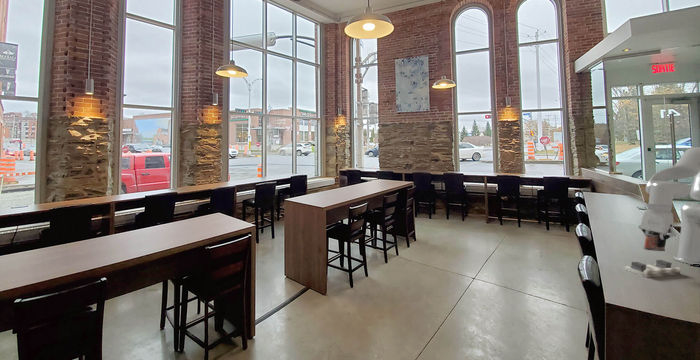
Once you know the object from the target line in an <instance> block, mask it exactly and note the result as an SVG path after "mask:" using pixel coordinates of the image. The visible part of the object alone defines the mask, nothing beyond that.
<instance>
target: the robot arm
mask: <svg viewBox="0 0 700 360" xmlns="http://www.w3.org/2000/svg"><path fill="white" fill-rule="evenodd" d="M692 177H693V180H692V184H691V187H690V186H689V185H688V184H686V183H685V182H680V181H675V180H682V179H683V180H684V179H687V178H692ZM645 192H646V193H647V194H649V198H648V203H646V204H645V207H647V209H645V211H644V212H643V213H642V218H641V223H640V224H639V226H638V229H639V230H640V231H642V232H643V235H644V236H645V237H646V235H645V234H651V232H648V230H651V231H653V232H657V233H660V239H659V240H658V247H660V248H661V247H665V248H666V243H667V240H669V239H670V238H673V237H676V236H677V233H676V231H675V230H674V222H675V221H674V220H675V219H674V213H673V212H672V209H673V208H672V207H673V201H674V200H673V199H674V198H675V199H682V198H685V197H687V196H688V195H689V197H690V198H691V199H692V200H695V201H700V146H693V147H690V148H688V149H686V150H685V151H684V153H683V154H682V155H681V156H680V157H679V159H678V161H677V162H676V163H675V164H674V165H673V166H669V167H666V168H664V169H662V170H660V171H657V172H656V173H654V174H653V175H652V176H651V177H650V178H649V179H648V181H647V183H646V184H645ZM680 217H681V218H680V219H681V224H680V225H681V226H680V234H679V242H678V248H677V254H675V255H673V256H672V259H673V260H675V261H677V262H680V263H684V264H689V265H693V264H700V202H686V203H683V204H682V206H681V208H680Z"/></svg>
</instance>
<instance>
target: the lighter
mask: <svg viewBox="0 0 700 360" xmlns="http://www.w3.org/2000/svg"><path fill="white" fill-rule="evenodd" d="M648 232H651V234H645V235H646V236H645V235H644V236H645V239H644V246H643V250H646V251H653V252H666V246H665V247H661V248H660V247H658V240H659V239H660V233H657V232H653V231H651V230H648Z"/></svg>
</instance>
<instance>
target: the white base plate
mask: <svg viewBox="0 0 700 360" xmlns="http://www.w3.org/2000/svg"><path fill="white" fill-rule="evenodd" d="M624 270H625V271H627V272H628V271H629V272H630V271H631V273H633V272H634V274H636V273H637V274H636V275H638V274H639V275H638V276H641V277H643V278H644V277H645V278H652V277H653V278H654V277H667V276H676V275H681V272H682V271H681V270H682V268H681V267H678V266H677V267H672V262H670V261H666V260H663V259H657V260H656V261H655V263H652V264H645V263H642V262H639V261H632V262H631V265H626V266H624Z"/></svg>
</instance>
